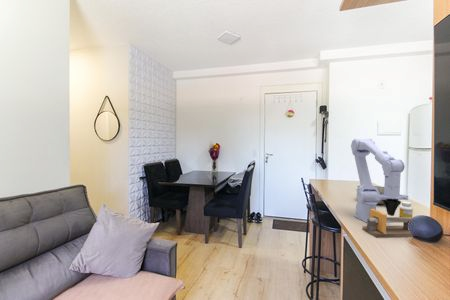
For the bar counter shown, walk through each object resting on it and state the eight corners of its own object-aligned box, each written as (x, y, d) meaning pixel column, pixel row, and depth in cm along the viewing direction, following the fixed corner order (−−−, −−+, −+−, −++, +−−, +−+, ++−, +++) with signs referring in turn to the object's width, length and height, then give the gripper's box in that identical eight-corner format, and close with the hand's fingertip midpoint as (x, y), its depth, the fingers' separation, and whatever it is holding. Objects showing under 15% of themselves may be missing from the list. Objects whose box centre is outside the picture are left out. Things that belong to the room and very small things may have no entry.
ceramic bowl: (382, 199, 163) (383, 185, 163) (404, 208, 140) (405, 192, 140) (350, 197, 165) (351, 184, 165) (367, 207, 143) (367, 191, 142)
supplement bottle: (399, 217, 123) (400, 200, 123) (412, 220, 120) (412, 202, 119) (399, 220, 119) (399, 202, 119) (412, 223, 116) (413, 204, 115)
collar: (369, 225, 106) (370, 208, 106) (372, 225, 106) (373, 208, 106) (382, 232, 98) (383, 214, 98) (385, 232, 98) (386, 214, 98)
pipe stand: (362, 229, 106) (362, 214, 106) (401, 228, 108) (402, 214, 108) (376, 237, 98) (377, 221, 97) (419, 236, 99) (419, 220, 99)
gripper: (383, 187, 98) (382, 218, 99) (414, 187, 99) (413, 217, 99) (372, 184, 105) (370, 213, 106) (401, 184, 106) (399, 212, 107)
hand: (390, 215), depth 103 cm, fingers closed
